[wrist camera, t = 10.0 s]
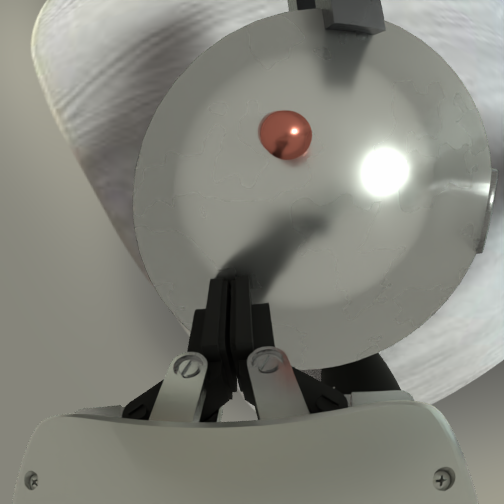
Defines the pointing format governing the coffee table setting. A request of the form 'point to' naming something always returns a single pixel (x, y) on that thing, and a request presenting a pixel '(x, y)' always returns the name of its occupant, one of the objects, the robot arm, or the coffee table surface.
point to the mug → (360, 376)
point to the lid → (316, 180)
